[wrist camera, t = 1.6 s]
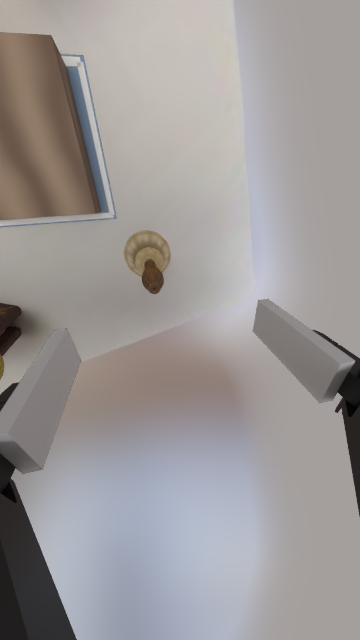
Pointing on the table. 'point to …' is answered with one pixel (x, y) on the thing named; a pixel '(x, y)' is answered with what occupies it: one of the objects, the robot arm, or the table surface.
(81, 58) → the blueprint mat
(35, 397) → the robot arm
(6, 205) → the walnut plinth
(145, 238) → the hand bell
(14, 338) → the book
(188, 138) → the table surface
